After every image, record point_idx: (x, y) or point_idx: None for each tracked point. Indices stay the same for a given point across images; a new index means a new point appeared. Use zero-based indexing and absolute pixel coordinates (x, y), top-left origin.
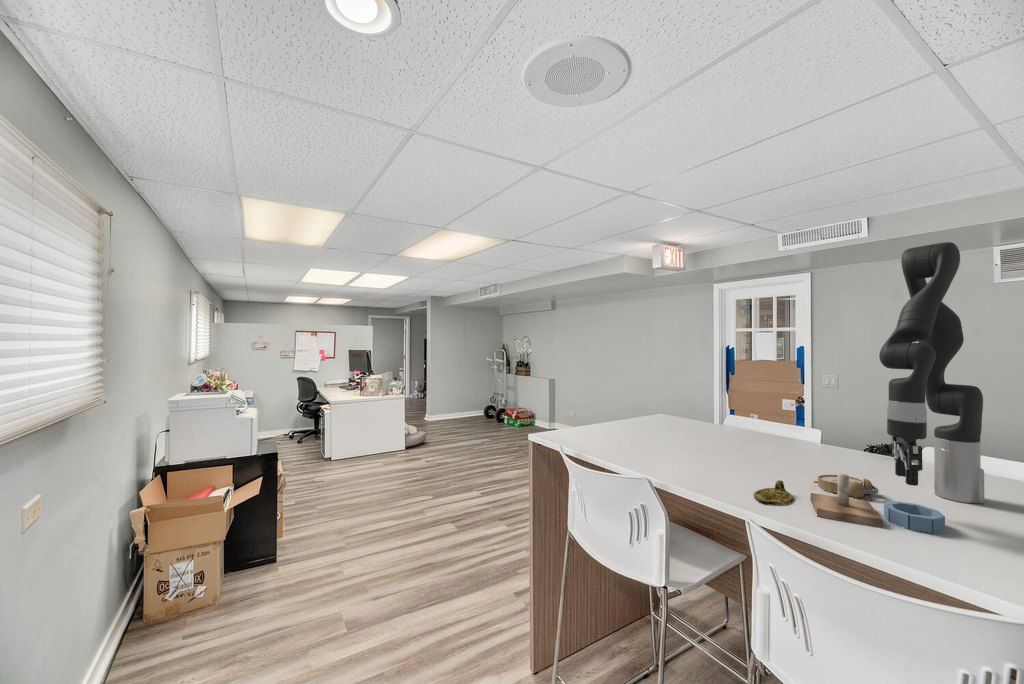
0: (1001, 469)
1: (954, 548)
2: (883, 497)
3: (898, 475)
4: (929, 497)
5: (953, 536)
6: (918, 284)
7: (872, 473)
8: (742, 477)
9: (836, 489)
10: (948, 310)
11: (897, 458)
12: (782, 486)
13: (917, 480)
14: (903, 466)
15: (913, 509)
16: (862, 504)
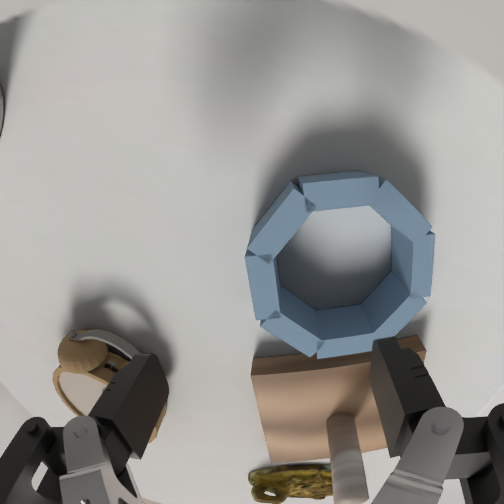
0: None
1: (488, 188)
2: (90, 300)
3: (166, 383)
4: (6, 180)
5: (399, 158)
6: None
7: None
8: (200, 499)
9: (161, 414)
10: None
11: (132, 480)
12: (265, 489)
13: (402, 358)
14: (133, 412)
15: (274, 261)
16: (305, 390)
